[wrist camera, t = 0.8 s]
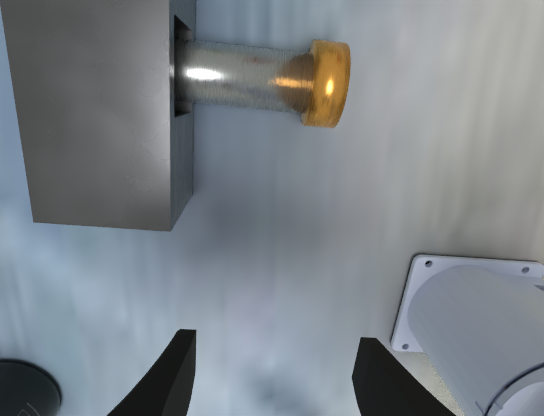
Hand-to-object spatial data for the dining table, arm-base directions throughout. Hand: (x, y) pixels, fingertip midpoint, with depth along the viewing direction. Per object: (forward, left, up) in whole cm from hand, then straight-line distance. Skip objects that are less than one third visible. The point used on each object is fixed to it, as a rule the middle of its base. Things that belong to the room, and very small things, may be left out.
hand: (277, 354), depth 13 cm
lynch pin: (+4, -10, -9) cm, 14 cm away
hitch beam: (+8, -10, -10) cm, 16 cm away
